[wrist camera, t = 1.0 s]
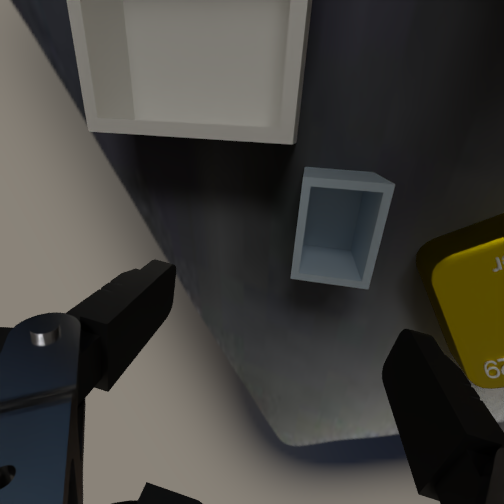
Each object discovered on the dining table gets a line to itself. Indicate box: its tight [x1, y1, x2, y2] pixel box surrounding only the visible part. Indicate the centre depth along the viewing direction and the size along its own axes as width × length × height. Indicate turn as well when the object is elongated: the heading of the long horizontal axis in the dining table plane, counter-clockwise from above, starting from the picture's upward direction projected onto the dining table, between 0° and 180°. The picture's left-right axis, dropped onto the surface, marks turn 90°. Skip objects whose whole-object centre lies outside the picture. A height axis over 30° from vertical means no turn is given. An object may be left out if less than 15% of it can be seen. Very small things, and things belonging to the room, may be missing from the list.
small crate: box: [290, 167, 395, 289], centre depth 23 cm, size 6×8×7 cm
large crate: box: [67, 0, 312, 145], centre depth 20 cm, size 16×16×6 cm
